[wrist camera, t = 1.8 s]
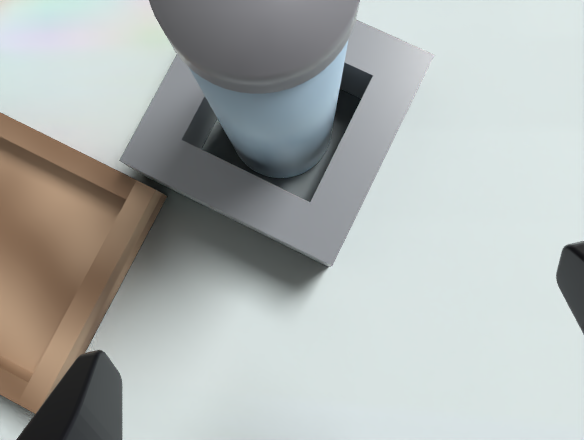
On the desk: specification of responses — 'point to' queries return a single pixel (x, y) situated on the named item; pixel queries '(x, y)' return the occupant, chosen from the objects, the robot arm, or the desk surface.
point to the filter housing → (260, 193)
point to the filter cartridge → (266, 72)
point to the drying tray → (59, 254)
